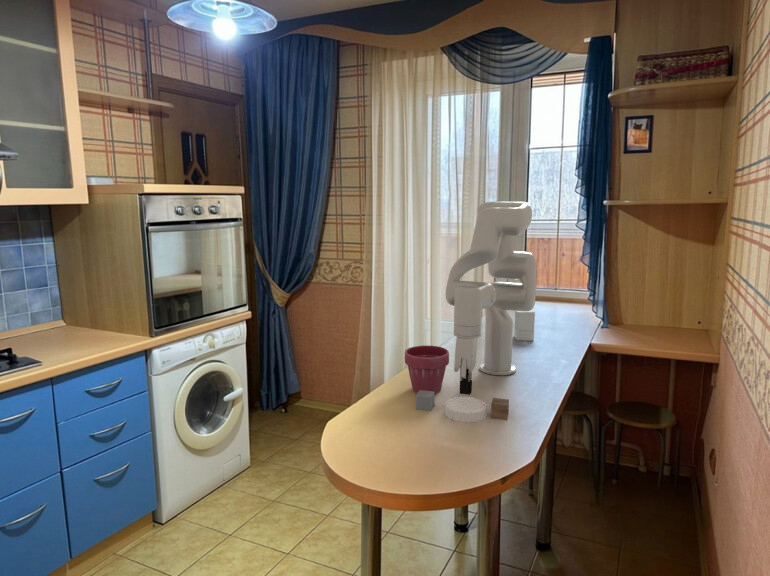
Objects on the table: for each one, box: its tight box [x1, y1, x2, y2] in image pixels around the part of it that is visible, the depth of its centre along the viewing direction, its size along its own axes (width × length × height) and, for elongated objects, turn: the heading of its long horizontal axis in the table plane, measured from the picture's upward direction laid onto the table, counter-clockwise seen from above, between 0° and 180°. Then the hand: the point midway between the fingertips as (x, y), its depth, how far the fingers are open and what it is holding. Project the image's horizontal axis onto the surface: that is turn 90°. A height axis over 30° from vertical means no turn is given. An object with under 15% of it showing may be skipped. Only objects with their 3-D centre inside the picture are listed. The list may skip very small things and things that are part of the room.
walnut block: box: [490, 397, 510, 421], centre depth 153 cm, size 4×4×4 cm
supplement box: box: [513, 309, 536, 342], centre depth 235 cm, size 7×7×13 cm
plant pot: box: [404, 345, 450, 394], centre depth 174 cm, size 14×14×13 cm
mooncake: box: [443, 396, 488, 423], centre depth 155 cm, size 12×12×4 cm
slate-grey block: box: [415, 390, 435, 412], centre depth 160 cm, size 4×4×4 cm
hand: (465, 393), depth 154 cm, fingers closed
